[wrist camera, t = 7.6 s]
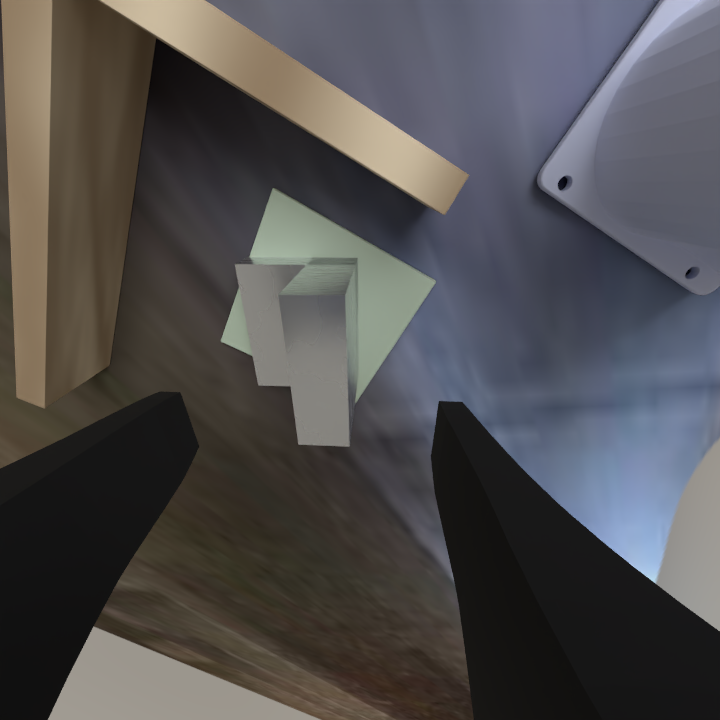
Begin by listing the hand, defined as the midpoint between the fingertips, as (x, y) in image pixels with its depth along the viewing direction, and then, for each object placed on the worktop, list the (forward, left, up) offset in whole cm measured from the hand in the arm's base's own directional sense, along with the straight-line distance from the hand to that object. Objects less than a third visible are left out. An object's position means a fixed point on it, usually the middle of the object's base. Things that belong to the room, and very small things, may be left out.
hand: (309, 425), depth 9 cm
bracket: (+2, +1, -8) cm, 8 cm away
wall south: (+5, -7, -8) cm, 12 cm away
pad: (+1, 0, -8) cm, 8 cm away
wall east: (+11, +1, -8) cm, 14 cm away
